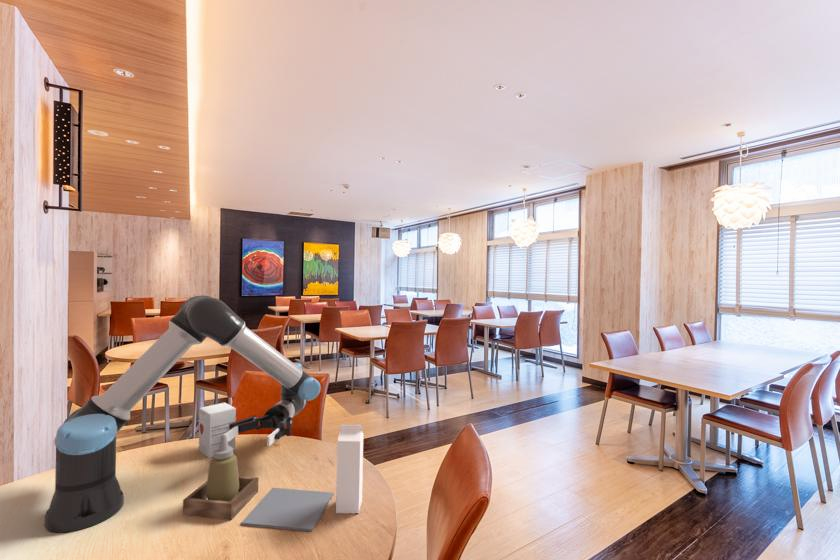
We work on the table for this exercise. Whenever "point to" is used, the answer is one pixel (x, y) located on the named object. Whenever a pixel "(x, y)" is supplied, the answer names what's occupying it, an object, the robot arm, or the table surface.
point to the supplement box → (215, 426)
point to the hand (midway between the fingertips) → (246, 440)
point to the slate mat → (289, 509)
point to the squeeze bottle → (223, 473)
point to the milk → (349, 469)
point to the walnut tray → (217, 509)
